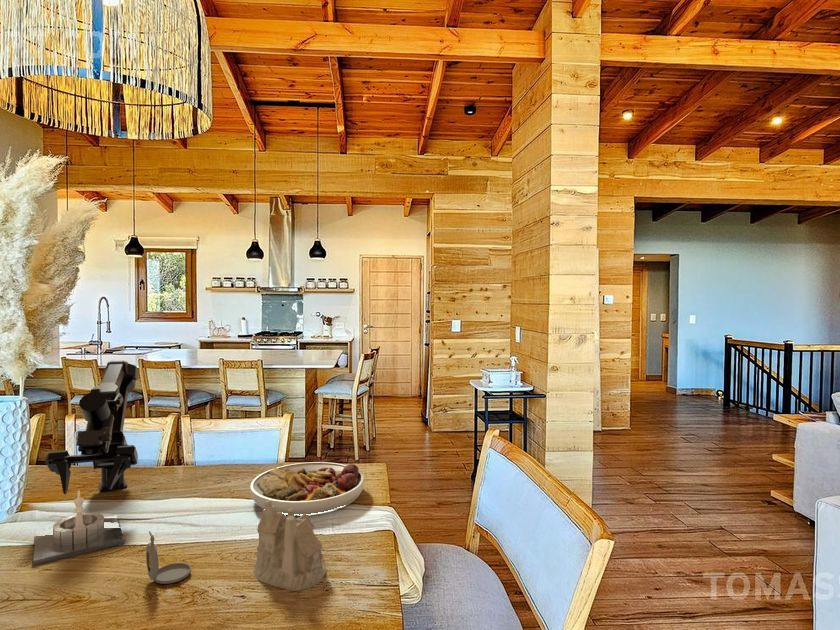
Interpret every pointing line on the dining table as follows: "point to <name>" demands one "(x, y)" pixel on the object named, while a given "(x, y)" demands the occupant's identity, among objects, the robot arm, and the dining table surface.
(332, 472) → the bowl
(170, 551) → the dining table surface
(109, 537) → the lens mount
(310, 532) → the grey brown rock formation
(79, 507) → the chess piece
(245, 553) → the dining table surface
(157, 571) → the pocket watch
